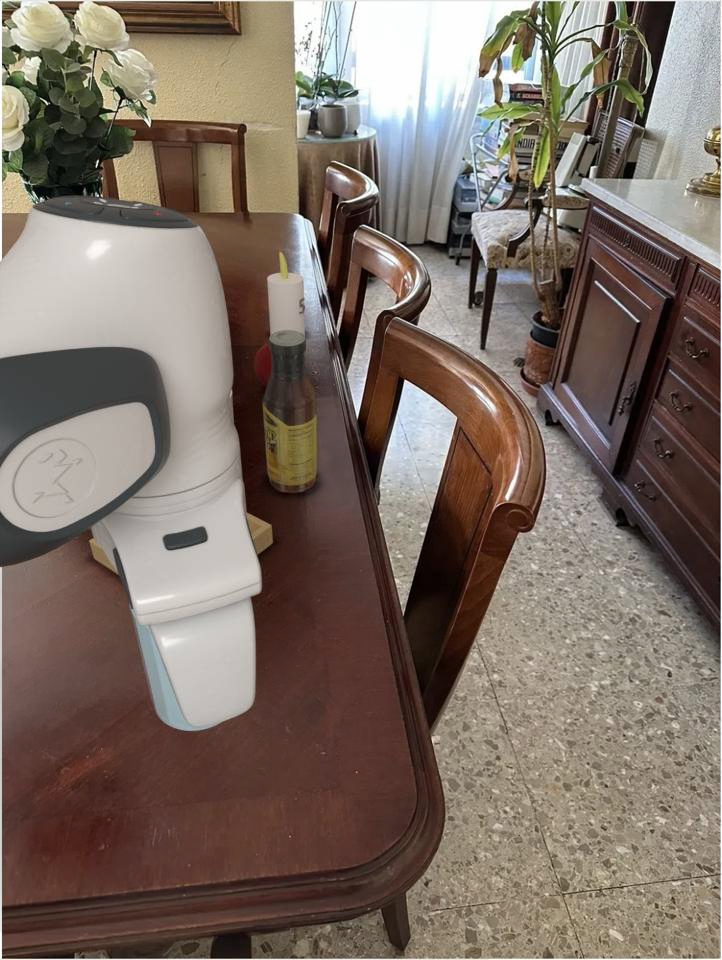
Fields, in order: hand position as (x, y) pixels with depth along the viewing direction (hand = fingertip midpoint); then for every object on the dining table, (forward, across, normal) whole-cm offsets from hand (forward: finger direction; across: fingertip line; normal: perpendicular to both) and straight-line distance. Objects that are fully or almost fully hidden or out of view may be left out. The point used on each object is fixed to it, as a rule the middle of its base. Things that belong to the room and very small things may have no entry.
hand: (193, 653), depth 46 cm
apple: (+11, -57, +25) cm, 64 cm away
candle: (+11, -77, +33) cm, 85 cm away
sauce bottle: (+12, -33, +19) cm, 39 cm away
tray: (+12, -25, +3) cm, 28 cm away
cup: (+4, 0, 0) cm, 4 cm away
